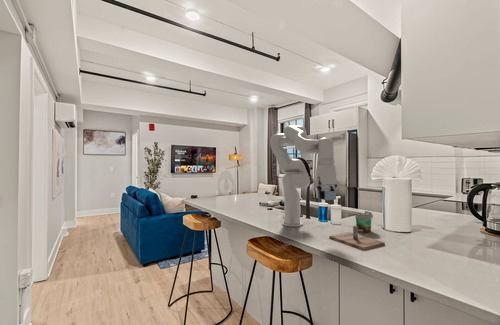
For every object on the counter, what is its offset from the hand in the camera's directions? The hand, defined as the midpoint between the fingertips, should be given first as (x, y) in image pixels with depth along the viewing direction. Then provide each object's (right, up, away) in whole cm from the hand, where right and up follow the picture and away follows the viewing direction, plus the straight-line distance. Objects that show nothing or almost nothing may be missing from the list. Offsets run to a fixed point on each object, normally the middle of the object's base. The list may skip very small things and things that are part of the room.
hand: (327, 198), depth 123 cm
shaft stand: (+12, -20, -7) cm, 24 cm away
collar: (0, -1, 0) cm, 1 cm away
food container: (+25, -20, +10) cm, 33 cm away
